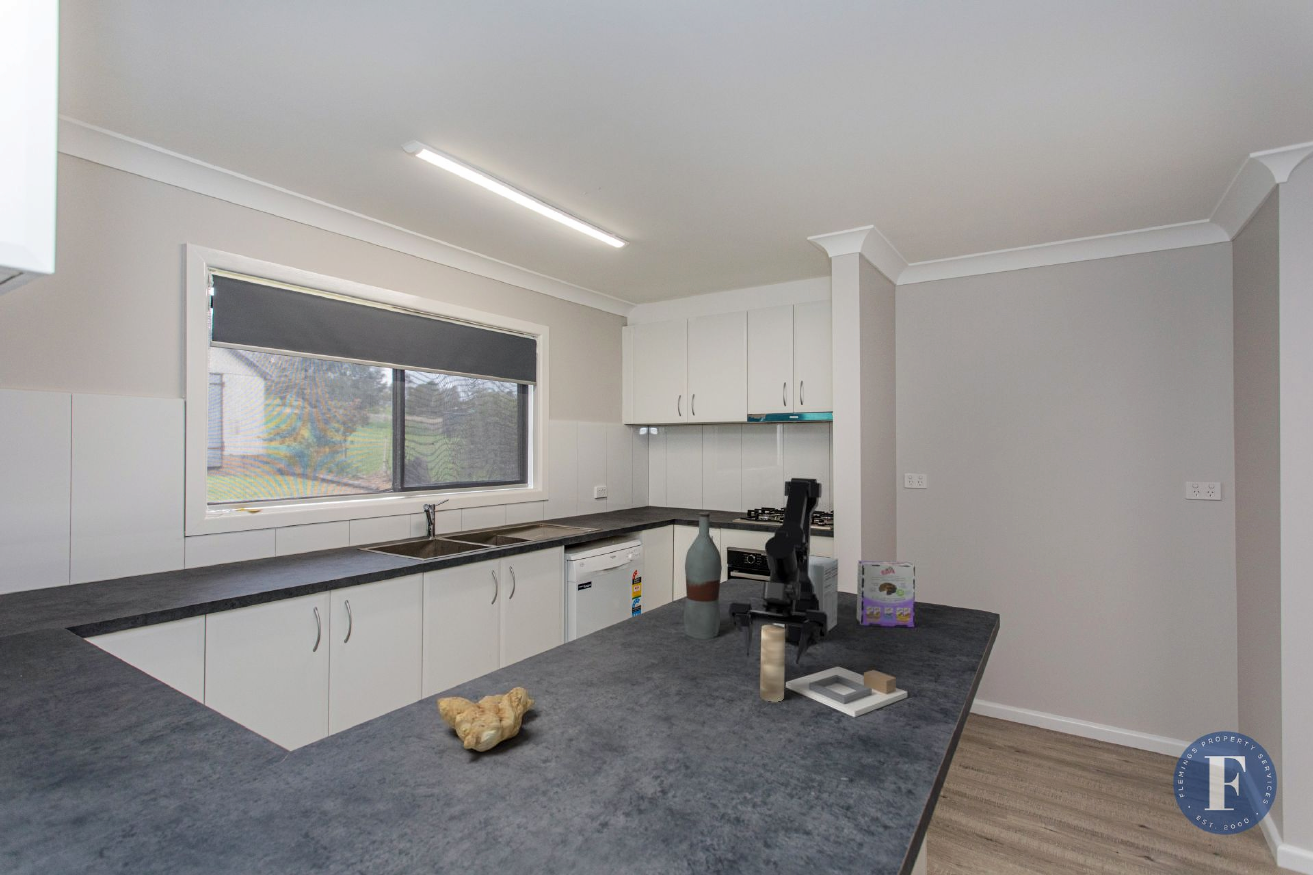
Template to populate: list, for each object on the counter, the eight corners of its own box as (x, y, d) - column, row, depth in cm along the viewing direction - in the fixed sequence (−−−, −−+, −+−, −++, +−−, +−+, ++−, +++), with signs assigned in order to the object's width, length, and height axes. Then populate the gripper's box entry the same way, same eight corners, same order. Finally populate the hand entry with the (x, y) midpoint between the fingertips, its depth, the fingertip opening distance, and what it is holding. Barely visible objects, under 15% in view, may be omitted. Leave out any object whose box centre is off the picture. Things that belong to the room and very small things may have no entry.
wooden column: (755, 695, 119) (756, 626, 119) (771, 690, 122) (773, 623, 122) (772, 704, 116) (773, 632, 116) (788, 698, 118) (790, 629, 118)
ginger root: (429, 759, 91) (434, 699, 92) (436, 737, 105) (440, 685, 107) (540, 752, 95) (542, 694, 97) (531, 731, 109) (533, 681, 111)
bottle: (676, 630, 159) (679, 510, 159) (708, 626, 163) (711, 509, 163) (694, 641, 151) (697, 515, 151) (727, 637, 155) (730, 514, 155)
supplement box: (838, 624, 168) (839, 558, 168) (822, 636, 157) (824, 566, 157) (790, 615, 175) (791, 552, 175) (772, 627, 164) (773, 559, 164)
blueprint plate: (785, 687, 124) (786, 669, 124) (838, 671, 133) (838, 654, 133) (854, 717, 111) (855, 697, 111) (907, 697, 120) (907, 678, 120)
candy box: (908, 621, 172) (909, 561, 172) (914, 628, 166) (916, 565, 166) (855, 619, 174) (857, 559, 174) (860, 625, 168) (862, 563, 168)
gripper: (731, 560, 127) (716, 630, 116) (828, 569, 120) (821, 644, 110) (739, 591, 134) (725, 660, 123) (830, 601, 128) (824, 674, 117)
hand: (772, 659), depth 118 cm, fingers open, 9 cm apart
